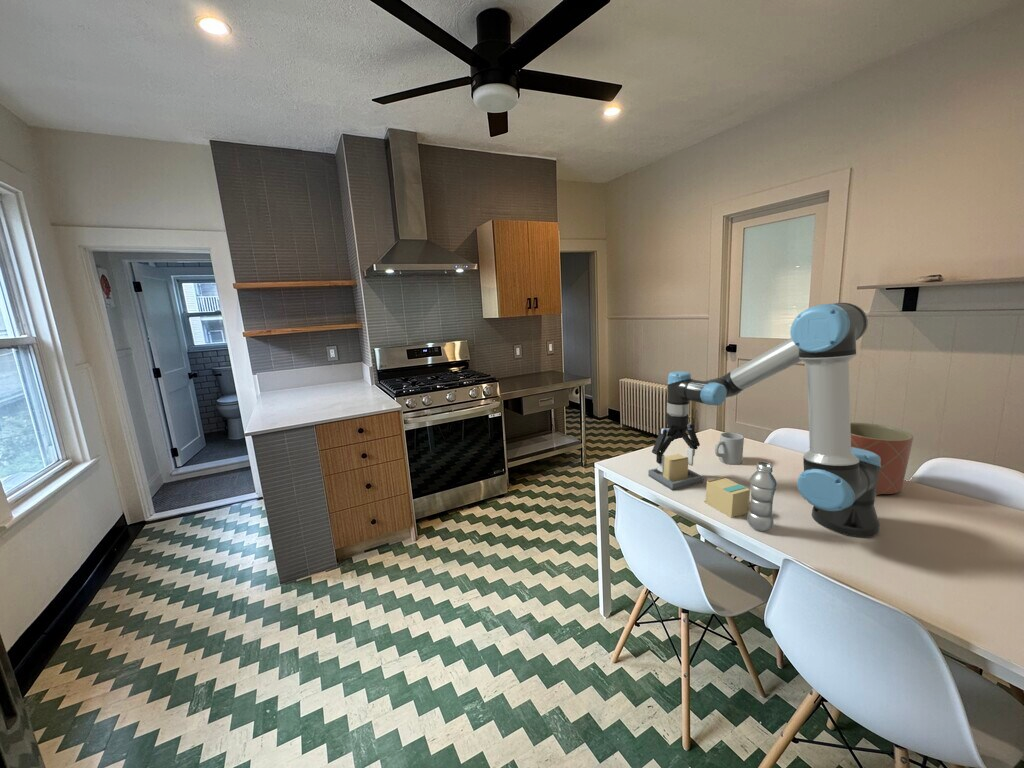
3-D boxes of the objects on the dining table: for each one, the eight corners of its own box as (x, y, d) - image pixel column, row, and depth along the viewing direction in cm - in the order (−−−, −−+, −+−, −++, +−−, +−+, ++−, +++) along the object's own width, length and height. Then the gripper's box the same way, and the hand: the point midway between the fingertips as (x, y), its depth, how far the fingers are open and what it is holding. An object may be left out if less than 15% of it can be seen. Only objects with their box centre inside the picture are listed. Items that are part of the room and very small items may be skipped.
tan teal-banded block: (748, 512, 122) (750, 489, 120) (731, 517, 120) (733, 493, 118) (719, 497, 132) (721, 475, 130) (703, 502, 130) (705, 479, 128)
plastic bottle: (760, 536, 110) (766, 470, 106) (741, 523, 117) (746, 461, 113) (778, 531, 112) (785, 467, 108) (758, 519, 118) (763, 458, 114)
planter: (855, 469, 147) (862, 419, 143) (918, 492, 129) (928, 435, 125) (817, 477, 143) (823, 426, 139) (876, 502, 125) (886, 443, 120)
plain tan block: (687, 478, 145) (688, 457, 144) (672, 481, 143) (673, 461, 141) (677, 473, 150) (678, 453, 148) (663, 476, 148) (663, 456, 146)
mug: (730, 455, 166) (731, 431, 164) (747, 462, 158) (749, 437, 156) (707, 459, 163) (708, 435, 160) (723, 467, 155) (725, 441, 152)
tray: (702, 482, 143) (703, 476, 143) (672, 490, 139) (672, 483, 138) (677, 469, 155) (677, 463, 155) (648, 475, 151) (648, 470, 150)
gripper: (696, 406, 149) (693, 458, 153) (642, 415, 141) (641, 469, 145) (712, 411, 142) (708, 465, 146) (656, 421, 134) (655, 477, 138)
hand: (675, 467), depth 146 cm, fingers open, 13 cm apart
